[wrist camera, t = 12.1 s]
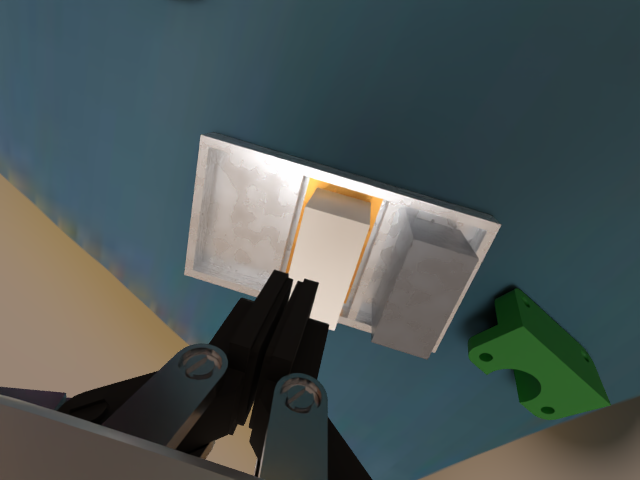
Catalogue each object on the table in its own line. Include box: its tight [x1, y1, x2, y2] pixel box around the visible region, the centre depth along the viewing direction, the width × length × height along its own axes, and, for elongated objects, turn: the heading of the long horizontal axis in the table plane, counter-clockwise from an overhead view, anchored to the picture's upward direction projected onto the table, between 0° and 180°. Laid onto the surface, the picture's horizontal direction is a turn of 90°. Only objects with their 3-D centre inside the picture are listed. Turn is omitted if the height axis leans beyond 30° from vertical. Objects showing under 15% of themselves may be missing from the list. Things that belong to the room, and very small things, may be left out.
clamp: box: [468, 288, 611, 420], centre depth 32 cm, size 12×6×9 cm, turn 44°
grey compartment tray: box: [184, 132, 501, 360], centre depth 31 cm, size 26×14×6 cm, turn 75°
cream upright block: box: [289, 187, 371, 331], centre depth 30 cm, size 10×5×6 cm, turn 165°
